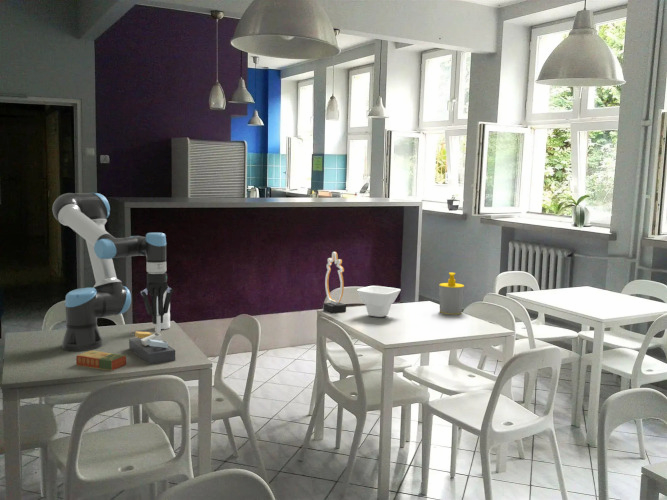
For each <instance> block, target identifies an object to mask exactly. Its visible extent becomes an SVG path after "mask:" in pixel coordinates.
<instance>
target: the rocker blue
mask: <svg viewBox="0 0 667 500" xmlns="http://www.w3.org/2000/svg"><path fill="white" fill-rule="evenodd" d="M147 344H148V345H150V346H155V347H163V348H168V346H170V344H169V342H167V341H166V340H161V341H160V340H152V339H148V340H147Z"/></svg>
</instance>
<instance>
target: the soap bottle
mask: <svg viewBox="0 0 667 500" xmlns="http://www.w3.org/2000/svg"><path fill="white" fill-rule="evenodd" d="M448 275H449V278H448V279H447V282H441V283H439V284H438V287H439V288H438V290H439V296H438V297H439V312H440V314H441V313H442V314H446V315H460V314H462V313H463V312H462V311H463V301H464V292H465V285H464V284H462V283H457V282H456V281H457V280H456V279H455V275H456V272H448Z"/></svg>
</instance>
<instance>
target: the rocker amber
mask: <svg viewBox="0 0 667 500" xmlns="http://www.w3.org/2000/svg"><path fill="white" fill-rule="evenodd" d="M134 331H135V330H134ZM153 334H155V333H154V332H153V331H137V330H136V331H135V333H134V337H135V338H145V337H148V336H150V335H153Z"/></svg>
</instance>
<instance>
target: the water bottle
mask: <svg viewBox="0 0 667 500" xmlns="http://www.w3.org/2000/svg"><path fill="white" fill-rule="evenodd" d="M166 291H167V290H166ZM166 291H165V293H164V294H163V307H164V302H165V297H166V293H167V292H166ZM170 311H171V302H170V303H169V308H168V312H167V313H165V314H164V315H163V323H161V329H164V330H168V329H170V328H171V312H170ZM157 315H159V314H158V297H157ZM153 325H154V328H155V324H153Z"/></svg>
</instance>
